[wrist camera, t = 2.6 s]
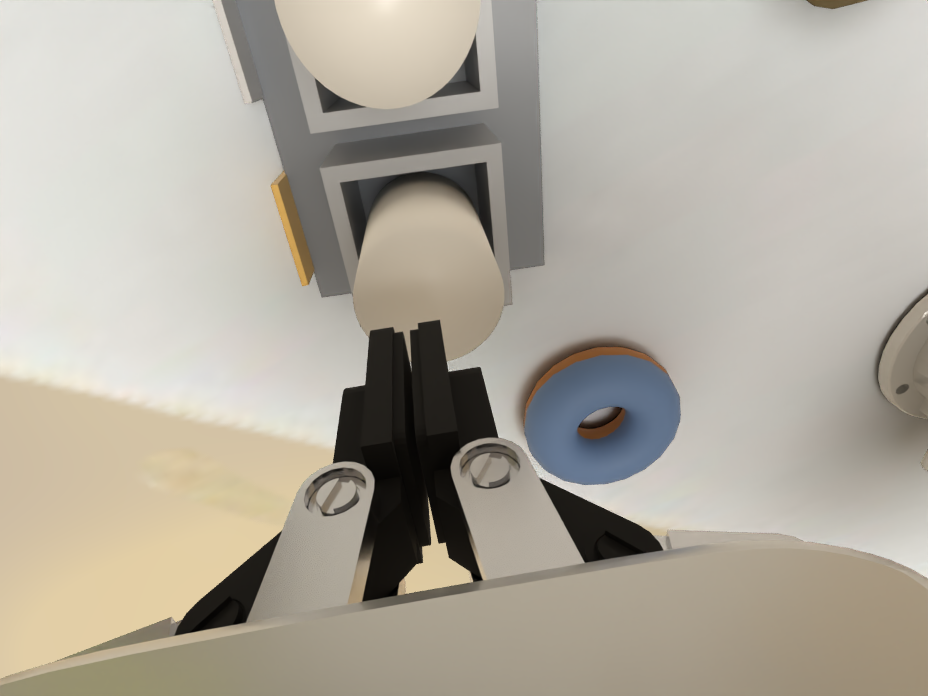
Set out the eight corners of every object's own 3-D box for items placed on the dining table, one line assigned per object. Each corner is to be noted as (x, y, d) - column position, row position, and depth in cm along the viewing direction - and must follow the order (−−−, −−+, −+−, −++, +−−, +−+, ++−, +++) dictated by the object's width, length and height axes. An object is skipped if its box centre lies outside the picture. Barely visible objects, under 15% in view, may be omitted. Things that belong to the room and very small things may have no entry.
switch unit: (540, 258, 28) (570, 307, 23) (319, 290, 28) (300, 347, 22) (514, -493, 15) (569, -762, 10) (102, -447, 15) (-58, -699, 10)
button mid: (463, 76, 19) (489, 95, 13) (337, 94, 19) (305, 120, 13) (446, -89, 16) (469, -159, 10) (300, -70, 16) (240, -130, 10)
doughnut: (486, 401, 32) (505, 452, 29) (614, 304, 30) (652, 346, 27) (564, 468, 38) (588, 519, 34) (678, 391, 36) (717, 436, 32)
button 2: (483, 271, 23) (509, 352, 17) (380, 286, 23) (370, 373, 17) (472, 164, 21) (498, 216, 15) (356, 180, 21) (336, 239, 15)
